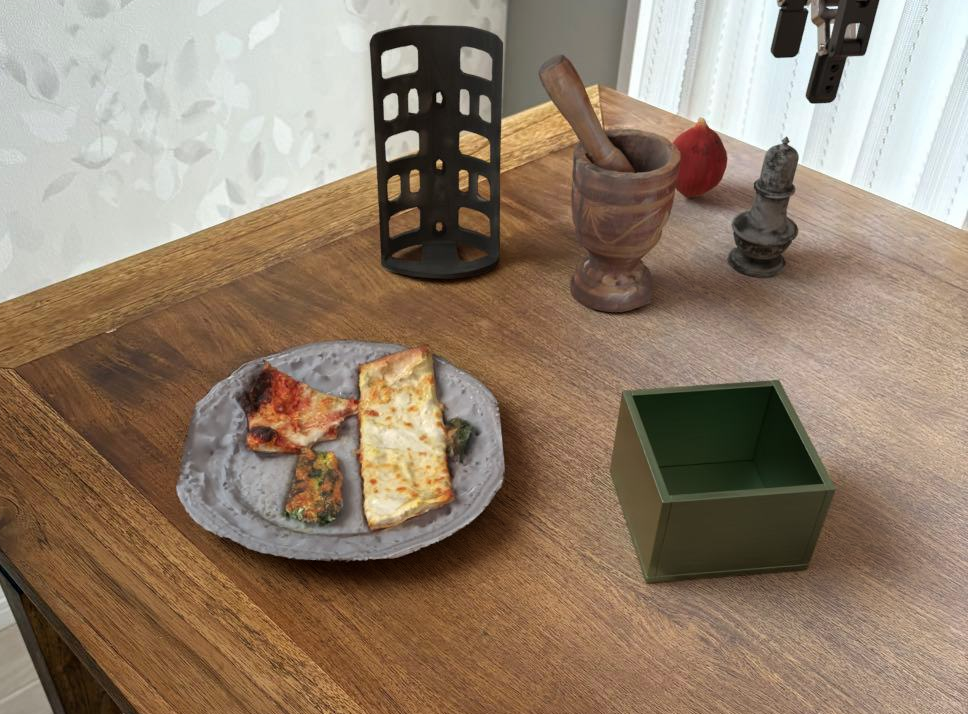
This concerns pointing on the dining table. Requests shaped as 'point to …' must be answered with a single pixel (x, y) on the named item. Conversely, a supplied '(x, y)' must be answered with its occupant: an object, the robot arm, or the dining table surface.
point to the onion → (700, 160)
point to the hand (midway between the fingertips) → (800, 77)
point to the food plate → (342, 451)
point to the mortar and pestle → (612, 196)
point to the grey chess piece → (767, 217)
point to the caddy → (718, 481)
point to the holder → (438, 148)
